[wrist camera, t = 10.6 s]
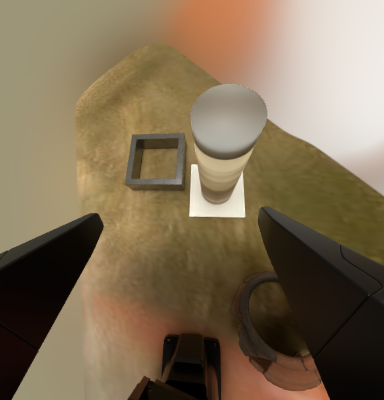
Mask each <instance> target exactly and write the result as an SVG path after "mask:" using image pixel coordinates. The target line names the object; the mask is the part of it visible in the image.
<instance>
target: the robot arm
mask: <svg viewBox="0 0 384 400" xmlns="http://www.w3.org/2000/svg"><path fill="white" fill-rule="evenodd" d="M258 225H259V229H260V232H261V235H262V239H263V242H264V246H265V249H266V251H267V254H268V256H269V258H270V261H271V263H272V265H273V268H274V270H275V272H276V275H277V277H278V279H279V282H280V284H281V286H282V289H283V291H284V293H285V296H286V298H287V300H288V302H289V305H290V307H291V309H292V312H293V314H294V316H295V319H296V321H297V323H298V326H299V328H300V330H301V333H302V335H303V337H304V340H305V342H306V344H307V347H308V349H309V351H310V354H311V356H312V358H313V359H314V363H315V366H316V368H317V370H318V373H319V375H320V377H321V380H322V382H323V384H324V387H325V389H326V391H327V393H328V396H329V398H330V400H384V265H381V264H379V263H377V262H375V261H373V260H371V259H369V258H367V257H365V256H363V255H361V254H359V253H357V252H355V251H353V250H351V249H349V248H347V247H345V246H343V245H341V244H340V245H339V243H338V242H336V241H334V240H332V239H330V238H328V237H326V236H324V235H322V234H320V233H318V232H316V231H315V230H313V229H311V228H309V227H307V226H305V225H303V224H301V223H299V222H297V221H295V220H293V219H291V218H290V217H288V216H286V215H284V214H282V213H280V212H278V211H276V210H274V209H272V208H270V207H261V208H260V210H259V216H258ZM103 227H104V225H103V222H102V220H101V218H100V216H99V214H97V213H90V214H87V215H85V216H83V217H81V218H78V219H76V220H74V221H72V222H70V223H68V224H65V225H63V226H61V227H59V228H56V229H54V230H52V231H50V232H47V233H45V234H43V235H41V236H39V237H37V238H34V239H32V240H30V241H27V242H25V243H23V244H21V245H19V246H16V247H14V248H12V249H10V250H9V251H5V252H3V253H1V254H0V400H12V398H13V396H14V394H15V392H16V391H17V389H18V387H19V385H20V383H21V382H22V380H23V378H24V376H25V374H26V373H27V371H28V369H29V367H30V365H31V364H32V362H33V360H34V358H35V356H36V355H37V353H38V351H39V350H38V349H40V347H41V345H42V343H43V342H44V340H45V338H46V336H47V334H48V333H49V331H50V329H51V327H52V325H53V324H54V322H55V320H56V318H57V316H58V314H59V313H60V311H61V309H62V307H63V306H64V304H65V302H66V300H67V298H68V297H69V295H70V293H71V291H72V289H73V288H74V286H75V284H76V282H77V280H78V279H79V277H80V275H81V273H82V271H83V270H84V268H85V266H86V264H87V262H88V260H89V259H90V257H91V255H92V253H93V251H94V249H95V247H96V244H97V242H98V240H99V237H100V235H101V233H102V230H103ZM167 339H169V340H170V342H168V341H167ZM215 343H216V344H217V346H216V347H215V346H214V344H215ZM128 400H221V369H220V342H219V340H218V339H213V338H203V336H200V335H189V334H181V335H166V337H165V339H164V347H163V363H162V378H161V381H159V380H157V379H156V381H155V382H153V381H150V378H148V377H146V376H144V377H143V379H142V380H141V382H140V383H138V384H137V386H136V387H135V389H134V390H133V392H132V394H131V395H130V397H129V398H128Z"/></svg>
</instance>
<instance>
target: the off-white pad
mask: <svg viewBox="0 0 384 400" xmlns="http://www.w3.org/2000/svg"><path fill="white" fill-rule="evenodd" d="M190 217H227V218H245V205H244V187H243V172H242V174H241V176H240V178H239V180H238V182H237V184H236V186H235V188H234V191H233V193H232V195H231V197H230V198H229V200H228V201H226V202H225V203H223V204H219V205H215V204H211V203H209V202H207V201H206V200H205V199H204V197H203V196H202V192H201V185H200V179H199V172H198V165H197V164H196V165H191V191H190Z"/></svg>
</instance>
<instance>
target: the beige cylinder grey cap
mask: <svg viewBox="0 0 384 400" xmlns="http://www.w3.org/2000/svg"><path fill="white" fill-rule="evenodd" d="M190 117H191V125H192V132H193V139H194V145H195V152H196V159H197V165H198V172H199V179H200V185H201V192H202V196H203V197H204V199H205V200H206V201H207V202H209V203H211V204H215V205H219V204H223V203H225V202H226V201H228V200H229V198H230V197H231V195H232V193H233V191H234V188H235V186H236V184H237V182H238V180H239V178H240V176H241V174H242V172H243V170H244V167H245V165H246V163H247V161H248V159H249V157H250V155H251V153H252V151H253V149H254V146H255V144H256V142H257V140H258V138H259V136H260V134H261V132H262V130H263V127H264V125H265V123H266V120H267V108H266V105H265V103H264V101H263V99H262V98H261V97H260V96H259V95H258V94H257V93H256V92H255V91H253V90H252V89H250V88H248V87H245V86H242V85H237V84H224V85H219V86H215V87H212V88H210V89H208V90H207V91H205V92H204V93H202V94H201V95H200V96H199V97H198V98H197V99H196V101H195V102H194V104H193V106H192V109H191V115H190Z"/></svg>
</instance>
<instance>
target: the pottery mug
mask: <svg viewBox="0 0 384 400" xmlns="http://www.w3.org/2000/svg"><path fill="white" fill-rule="evenodd" d="M265 282H279V279H278V277H277V275H276V272H262V273H258V274H254V275H252V276H250V277H249V278H247V279H246V280H245V281H244V284H242V285H241V286H240V287H239V289H238V291H237V294H236V297H235V300H234V302H233V304H232V306H231V309H230V313H232V314H234V315H235V316H236V317H238V318H239V319H240V320H241V325H240V326H239V331H238V334H239V346H240V348H241V350H242V351H243V353H244V354H245V355H246V356H250V359H249V361H250V363H251V364H252V365H253V366H254V367H255V368H256V369H257V370H258V371H259V372H261V373H262V374H263V375H264V376H265V378H266V379H267V380H268V381H269V382H271V383H272V384H274V385H276V386H278V387H280V388H282V389H285V390H289V391H303V390H307V389H312V388H314V387H317V386H318V385H319V384H320V383H321V377H320V375H319V373H318V370H317V368H316V366H315V363H314V359H313V358H312V356H311V354H310V353H309V354H308V355H305V356H301V355H300V354H299V353H296V355H295V356H294V357H292V356H287V355H284V354H282V353H280V352H277V351H275V350H274V349H272V348H271V347H270V346H268V345H267V344H266V343H265V342H264V341H263V340H262V339H261V337H260V336H259V335H258V333H257V331H256V330H255V328H254V326H253V324H252V321H251V319H250V316H249V307H248V305H249V298H250V296H251V293H252V292H253V290H254V289H255V288H256V287H257V286H259V285H260V284H262V283H265ZM255 357H256V358H255ZM257 358H262V359H267V360H270V364H269V366H268V365H266V364H264V363H262V362H261V361H259V360H258V359H257Z"/></svg>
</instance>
